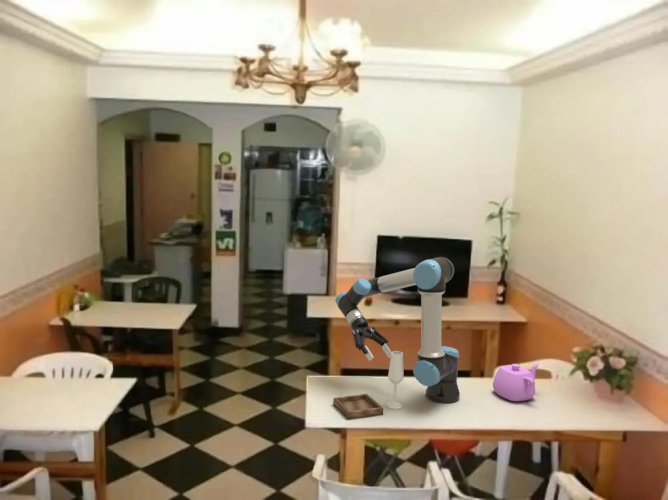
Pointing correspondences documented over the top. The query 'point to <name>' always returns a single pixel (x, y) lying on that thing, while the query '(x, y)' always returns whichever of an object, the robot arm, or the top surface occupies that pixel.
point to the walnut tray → (358, 406)
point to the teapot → (515, 382)
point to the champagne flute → (395, 375)
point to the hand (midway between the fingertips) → (381, 358)
